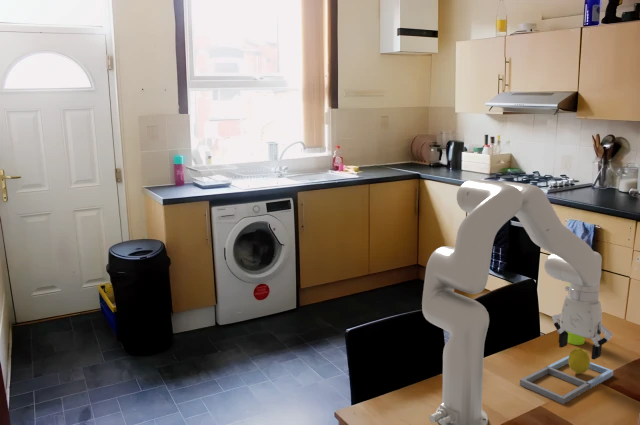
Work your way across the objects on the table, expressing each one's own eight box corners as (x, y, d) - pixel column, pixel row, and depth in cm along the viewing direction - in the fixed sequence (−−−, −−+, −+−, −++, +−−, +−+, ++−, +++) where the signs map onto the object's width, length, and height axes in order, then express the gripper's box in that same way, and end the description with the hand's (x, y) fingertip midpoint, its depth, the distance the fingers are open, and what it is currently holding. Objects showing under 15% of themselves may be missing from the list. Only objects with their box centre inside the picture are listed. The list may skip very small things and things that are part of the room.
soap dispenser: (558, 340, 182) (561, 281, 179) (573, 336, 185) (577, 278, 181) (573, 346, 177) (577, 287, 173) (588, 342, 180) (592, 283, 176)
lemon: (591, 379, 156) (593, 352, 155) (570, 377, 158) (571, 351, 156) (586, 370, 162) (587, 344, 160) (565, 368, 163) (567, 343, 161)
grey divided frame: (563, 404, 144) (563, 398, 144) (519, 384, 154) (520, 379, 154) (612, 375, 158) (613, 370, 158) (569, 359, 169) (570, 354, 168)
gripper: (547, 289, 160) (543, 345, 163) (607, 305, 146) (602, 366, 149) (562, 284, 164) (558, 339, 167) (621, 300, 150) (616, 359, 153)
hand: (578, 352), depth 158 cm, fingers open, 9 cm apart
